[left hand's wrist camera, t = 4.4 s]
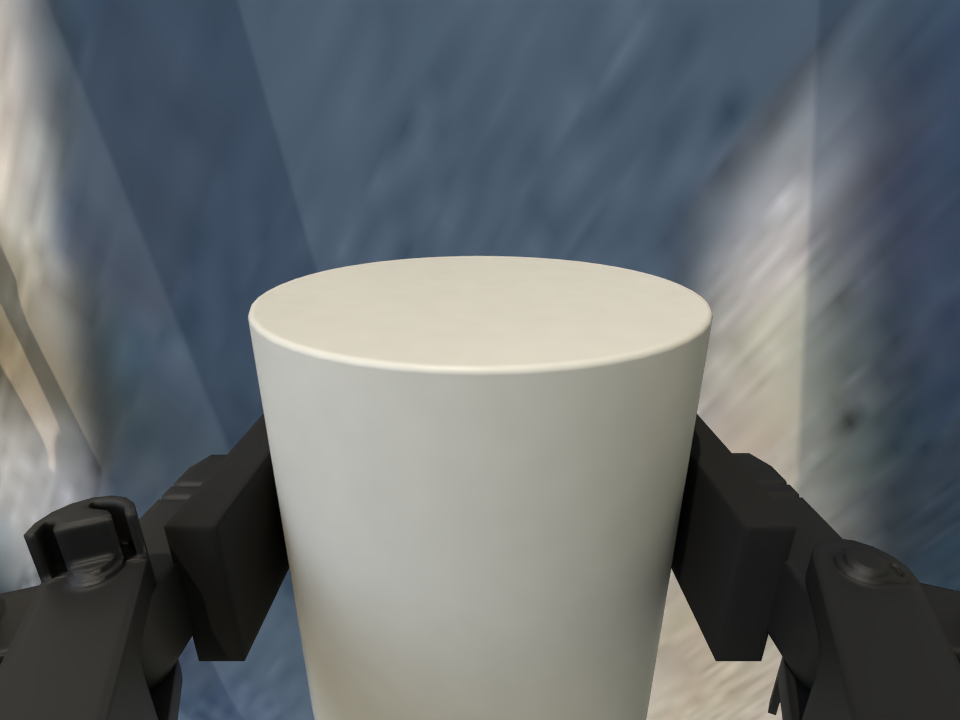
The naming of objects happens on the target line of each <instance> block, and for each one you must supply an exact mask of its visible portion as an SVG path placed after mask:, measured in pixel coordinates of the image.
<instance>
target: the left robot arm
mask: <svg viewBox="0 0 960 720" xmlns="http://www.w3.org/2000/svg"><path fill="white" fill-rule="evenodd" d="M24 538H25V540H26V543H27V546H28V548H29V551H30V553H31V556H32V559H33V561H34V564H35V566H36V569H37V572H38V574H39V577H40V579H41V584H40V585H39V586H34V587H30V588H25V589H21V590H16V591H11V592H7V593H2V594H0V720H178V712H179V704H180V696H181V688H182V680H183V679H182V672H181V667H180V663H179V660H178V658H179V656H180V655H181V653H182V652H183V650H184V648H185V647H186V645H187V643H188V642H189V640H190V639H191V637H192V636H193V640H194V643H195V647H196V651H197V655H198V659H199V661H245V659H246V657H247V655H248V653H249V651H250V648H251V646H252V644H253V642H254V640H255V638H256V636H257V634H258V632H259V630H260V628H261V625H262V623H263V621H264V619H265V617H266V615H267V613H268V611H269V609H270V607H271V605H272V602H273V600H274V598H275V596H276V594H277V592H278V590H279V588H280V586H281V584H282V582H283V579H284V577H285V575H286V573H287V571H288V569H289V562H288V556H287V550H286V544H285V538H284V532H283V526H282V520H281V514H280V508H279V502H278V496H277V490H276V484H275V478H274V471H273V465H272V459H271V453H270V447H269V441H268V435H267V429H266V423H265V417H264V414H263V415H262V416H261V417H260V418H259V420H258V421H257V422H256V423H255V424H254V425H253V426H252V427H251V429H250V430H249V431H248V432H247V433H246V434H245V435H244V436H243V438H242V439H241V440H240V441H239V442H238V443H237V444H236V446H235V447H234V448H233V449H232V450H231V451H230V452H229V453H228V455H211V456H209V457H207V458H206V459H204V460H202V461H200V462H199V463H197V464H195V465H194V466H192V467H190V468H189V469H188V470H187V471H186V472H185V473H184V474H183V475H182V476H181V477H180V478H179V479H178V480H177V481H176V482H175V483H174V486H171V487H170V488H169V489H168V490H167V492H166V493H165V494H164V495H163V496H162V499H161V500H158V501H157V502H156V503H155V504H154V505H153V506H152V507H151V508H150V509H149V510H148V511H147V512H146V513H145V514H144V515H143V516H142V517H141V518H140V519H138V515H137V512H136V508H135V504H134V503H133V502H132V501H130V500H129V499H127V498H126V497H118V496H104V497H95V498H90V499H87V500H83V501H79V502H76V503H72V504H70V505H68V506H65V507H63V508H61V509H59V510H56V511H54V512H52V513H50V514H49V515H47V516H46V517H44V518H42V519H41V520H39V521H38V522H36V523H35V524H34V525H33V526H32V527H31V528H30V529H29V530H28V531H27V532H26V533H25V534H24ZM671 568H672V570H673V572H674V575H675V577H676V579H677V581H678V583H679V585H680V587H681V589H682V591H683V593H684V595H685V598H686V600H687V602H688V604H689V606H690V608H691V610H692V612H693V614H694V616H695V618H696V621H697V623H698V625H699V627H700V629H701V631H702V633H703V635H704V637H705V639H706V641H707V644H708V646H709V648H710V650H711V652H712V654H713V656H714V658H715V660H716V661H761V660H762V656H763V653H764V649H765V645H766V641H767V637H768V634H769V635H770V637H771V639H772V640H773V642H774V643H775V645H776V647H777V648H778V650H779V651H780V653H781V655H782V660H781V663H780V667H779V670H778V674H777V677H776V681H775V685H774V688H773V692H772V695H771V699H770V703H769V710H768V713H771V714H774V715H776V713H777V709H778V706H779V703H780V702H781V710H782V718H783V720H960V591H955V590H951V589H946V588H941V587H937V586H932V585H927V584H923V583H919V581H918V580H917V579H916V577H915V576H914V575H913V574H912V572H911V571H910V570H909V569H908V568H907V567H906V566H904V565H903V564H902V563H900V562H899V561H898V560H897V559H895V558H894V557H892V556H890V555H889V554H887V553H885V552H883V551H881V550H879V549H877V548H875V547H872V546H869V545H866V544H863V543H860V542H857V541H853V540H845V539H842V538H841V537H840V536H839V535H838V534H837V533H836V532H835V531H834V530H833V529H832V528H831V527H830V526H829V525H828V524H827V523H826V522H825V521H824V519H823V518H822V517H821V516H820V515H819V514H818V513H817V512H816V511H815V510H814V509H813V508H812V507H811V506H810V505H809V504H808V503H807V502H806V501H805V500H804V499H803V498H799V494H798V493H797V492H796V491H795V490H794V489H793V488H792V487H791V486H790V485H787V483H786V481H785V480H784V479H783V478H782V477H781V476H780V475H779V474H778V472H777V471H776V470H775V469H774V468H773V467H772V466H770V465H768V464H767V463H765V462H763V461H761V460H760V459H758V458H756V457H755V456H753V455H751V454H749V453H731V452H730V451H729V450H728V448H727V447H726V446H725V445H724V444H723V443H722V442H721V441H720V439H719V438H718V437H717V436H716V435H715V434H714V433H713V432H712V430H711V429H710V428H709V427H708V426H707V425H706V424H705V422H704V421H703V420H702V419H701V418H700V417H699V416H698V415H696V421H695V427H694V433H693V439H692V445H691V451H690V457H689V463H688V469H687V475H686V481H685V487H684V493H683V499H682V505H681V511H680V517H679V524H678V530H677V536H676V542H675V548H674V554H673V560H672V566H671Z"/></svg>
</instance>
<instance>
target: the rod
mask: <svg viewBox="0 0 960 720" xmlns="http://www.w3.org/2000/svg"><path fill="white" fill-rule="evenodd" d="M712 318H713V316H712V313H711V310H710V307H709V304H708V303H707V302H706V301H705V300H704V299H703V298H702V297H701V296H699V295H698V294H697V293H695V292H694V291H692V290H690V289H688V288H686V287H684V286H682V285H679V284H677V283H674V282H672V281H669V280H666V279H663V278H660V277H657V276H653V275H650V274H646V273H642V272H638V271H634V270H629V269H624V268H619V267H613V266H607V265H601V264H594V263H586V262H578V261H569V260H559V259H546V258H530V257H505V256H455V257H431V258H415V259H402V260H392V261H382V262H374V263H366V264H360V265H353V266H347V267H342V268H337V269H332V270H327V271H323V272H319V273H314V274H310V275H307V276H304V277H300V278H297V279H294V280H292V281H289V282H286V283H284V284H281V285H279V286H277V287H275V288H273V289H271V290H269V291H267V292H266V293H264V294H263V295H261V296H260V297H258V298H257V299H256V301H255V302H254V303H253V304H252V306H251V309H250V312H249V315H248V320H249V326H250V332H251V338H252V344H253V350H254V356H255V362H256V368H257V374H258V380H259V387H260V393H261V399H262V405H263V411H264V417H265V423H266V429H267V435H268V441H269V447H270V453H271V459H272V465H273V471H274V478H275V484H276V490H277V496H278V502H279V508H280V514H281V520H282V526H283V532H284V538H285V544H286V550H287V556H288V562H289V568H290V575H291V581H292V587H293V593H294V599H295V605H296V611H297V617H298V623H299V629H300V635H301V641H302V647H303V653H304V659H305V666H306V672H307V678H308V684H309V690H310V696H311V702H312V708H313V714H314V720H646V717H647V711H648V705H649V699H650V693H651V687H652V681H653V675H654V669H655V663H656V657H657V651H658V644H659V638H660V632H661V626H662V620H663V614H664V608H665V602H666V596H667V590H668V584H669V578H670V572H671V566H672V560H673V554H674V548H675V542H676V536H677V530H678V524H679V517H680V511H681V505H682V499H683V493H684V487H685V481H686V475H687V469H688V463H689V457H690V451H691V445H692V439H693V433H694V427H695V421H696V415H697V409H698V403H699V397H700V390H701V384H702V378H703V372H704V366H705V360H706V354H707V348H708V342H709V336H710V330H711V324H712Z"/></svg>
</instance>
